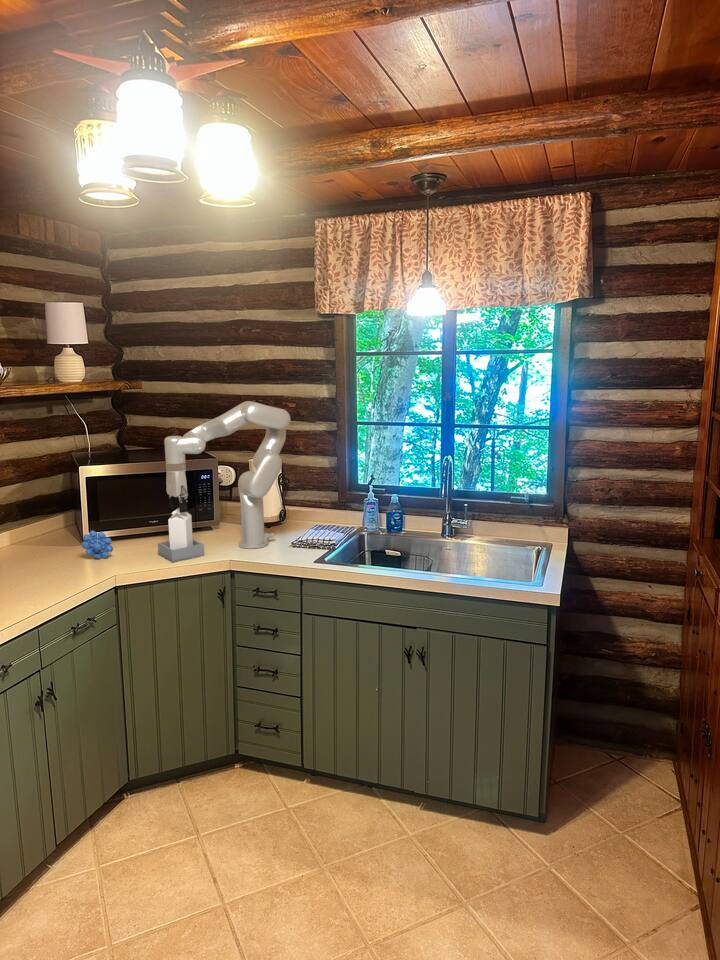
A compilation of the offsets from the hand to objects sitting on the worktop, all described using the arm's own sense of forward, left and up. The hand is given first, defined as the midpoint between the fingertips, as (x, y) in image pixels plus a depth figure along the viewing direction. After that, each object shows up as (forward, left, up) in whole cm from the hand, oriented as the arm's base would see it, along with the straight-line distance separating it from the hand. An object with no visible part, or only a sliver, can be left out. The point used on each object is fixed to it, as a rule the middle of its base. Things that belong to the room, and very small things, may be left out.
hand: (178, 509), depth 277 cm
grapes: (+28, -16, -19) cm, 38 cm away
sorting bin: (0, 0, -19) cm, 19 cm away
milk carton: (0, 0, -18) cm, 18 cm away
